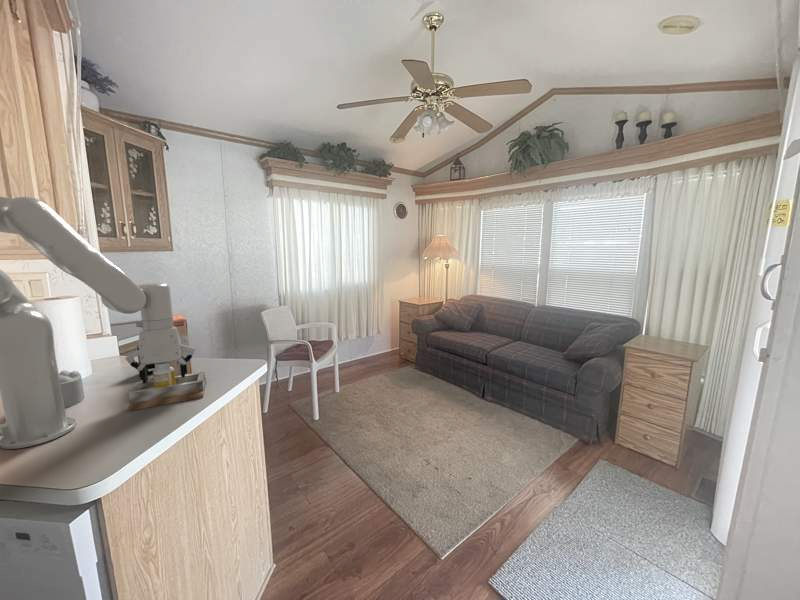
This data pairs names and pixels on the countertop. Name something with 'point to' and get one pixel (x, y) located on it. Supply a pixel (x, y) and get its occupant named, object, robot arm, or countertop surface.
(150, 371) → the supplement container
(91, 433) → the countertop surface
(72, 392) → the lumpy-topped squat cylinder
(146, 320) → the robot arm
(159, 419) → the countertop surface
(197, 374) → the wooden tray
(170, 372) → the supplement bottle
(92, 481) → the countertop surface
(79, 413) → the countertop surface
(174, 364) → the cracker box
